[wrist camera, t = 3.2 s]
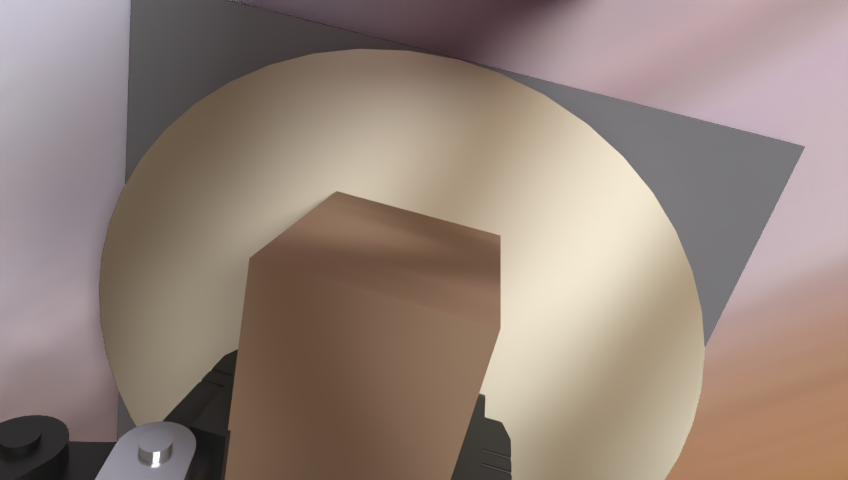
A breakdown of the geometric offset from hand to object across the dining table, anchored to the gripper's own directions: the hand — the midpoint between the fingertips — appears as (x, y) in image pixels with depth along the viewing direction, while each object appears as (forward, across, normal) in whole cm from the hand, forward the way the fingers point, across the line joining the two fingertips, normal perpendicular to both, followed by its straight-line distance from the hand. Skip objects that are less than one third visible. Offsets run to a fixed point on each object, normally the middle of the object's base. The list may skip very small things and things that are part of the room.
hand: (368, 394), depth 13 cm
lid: (+2, 0, 0) cm, 2 cm away
